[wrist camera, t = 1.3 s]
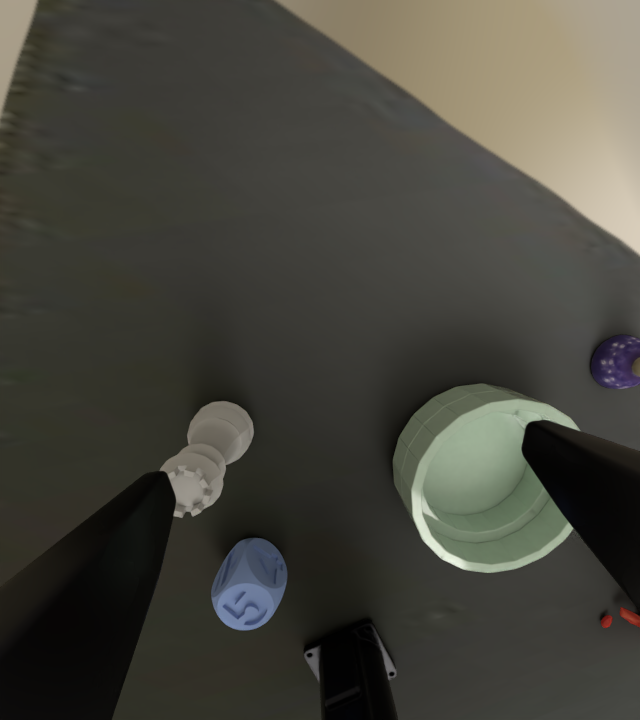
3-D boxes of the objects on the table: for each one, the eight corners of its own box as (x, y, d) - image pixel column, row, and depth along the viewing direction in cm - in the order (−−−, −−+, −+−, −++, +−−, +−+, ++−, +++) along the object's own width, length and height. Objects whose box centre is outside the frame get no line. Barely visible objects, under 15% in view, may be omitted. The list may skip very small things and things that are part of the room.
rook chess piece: (244, 391, 22) (212, 439, 14) (262, 446, 23) (243, 520, 15) (184, 408, 22) (119, 466, 14) (205, 462, 22) (155, 546, 15)
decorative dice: (249, 527, 24) (240, 571, 20) (289, 553, 24) (287, 601, 20) (219, 563, 24) (203, 613, 20) (258, 587, 25) (251, 641, 21)
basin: (557, 488, 25) (612, 527, 21) (422, 548, 25) (448, 600, 21) (515, 355, 23) (567, 367, 18) (366, 423, 23) (383, 450, 18)
